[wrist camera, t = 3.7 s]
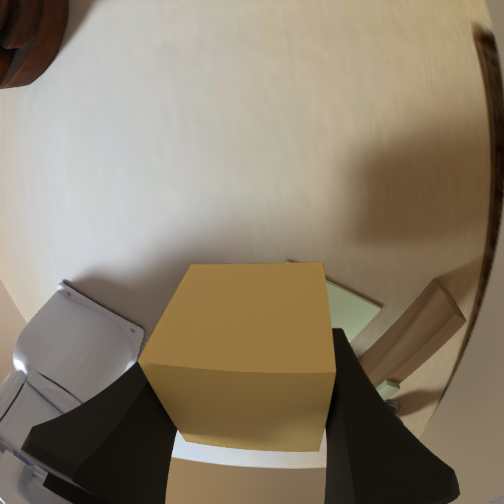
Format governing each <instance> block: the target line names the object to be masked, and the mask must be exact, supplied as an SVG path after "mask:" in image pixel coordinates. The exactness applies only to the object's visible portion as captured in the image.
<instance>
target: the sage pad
mask: <svg viewBox="0 0 504 504" xmlns="http://www.w3.org/2000/svg"><path fill="white" fill-rule="evenodd" d="M286 263H292V262H290V261H288V260H287V261H286ZM326 286H327V293H328V301H329V309H330V317H331V326H332V328H342V329H343V330H344V332H345V335H346V337H347V339H348V341H349V343H350V342H351V341H352V340H353V339H354V338H355V337H356V336H357V335H358V334H359V333H360V332H361V331H362V330H363V329H364V328H365V327H366V325H367V324H368V323H369V322H370V321H371V320H372V319H373V318H374V317H375V316H376V315H377V314H378V313H379V311H380V310H381V307H380V306H378V305H376V304H374V303H372V302H370V301H368V300H366V299H364V298H362V297H360V296H358V295H356V294H354V293H352V292H350V291H348V290H346V289H344V288H342V287H340V286H338V285H336V284H334V283H332V282H330V281H328V280H326Z"/></svg>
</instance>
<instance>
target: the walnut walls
mask: <svg viewBox="0 0 504 504" xmlns="http://www.w3.org/2000/svg"><path fill="white" fill-rule="evenodd" d="M465 322H466V319H465V317H464V316H463V314H462V312H461V311H460V309H459V307H458V306H457V304H456V302H455V301H454V299H453V297H452V296H451V294H450V293H449V291H448V289H447V288H446V286H444V285H443V284H441V283H440V282H438V281H437V280H435V279H434V280H433V281H432V282H431V283H430V284H429V286H428V287H427V288H426V289H425V290H424V292H423V293H422V294H421V295H420V296H419V297H418V298H417V300H416V301H415V302H414V303H413V304H412V305H411V306H410V307H409V309H408V310H407V311H406V312H405V313H404V314H403V315H402V316H401V317H400V318H399V319H398V320H397V321H396V323H395V324H394V325H393V326H392V327H391V328H390V329H389V330H388V331H387V332H386V333H385V334H384V335H383V336H382V337H381V338H380V339H379V340H378V341H377V342H376V343H375V344H374V345H373V346H372V347H371V348H370V349H369V350H367V351H366V352H365V353H364V354H363V355H362V356H361V357H360V358H359V359H358V361H359V363H360V364H361V366H362V368H363V369H364V371H365V373H366V374H367V376H368V378H369V379H370V381H371V382H372V384H373V385H374V387H375V388H376V390H377V391H378V393H379V394H380V396H381V397H382V399H383V400H384V401H385V400H386V399H388V398H389V397H391V396H392V395H393V394H394V393H396V392H397V391H398V390H400V386H399V384H400V383H401V382H402V381H403V380H404V379H406V378H407V377H408V376H409V375H410V374H412V373H413V372H414V371H415V370H416V369H418V368H419V367H420V366H421V365H422V364H423V363H424V362H425V361H427V360H428V359H429V358H430V357H431V356H432V355H433V354H434V353H435V352H436V351H437V350H439V349H440V348H441V347H442V346H443V345H444V344H445V343H446V342H447V341H448V340H449V339H450V338H451V337H452V336H453V335H454V334H455V333H456V332H457V331H458V330H459V329H460V328H461V327H462V326H463V324H464V323H465Z"/></svg>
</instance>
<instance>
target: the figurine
mask: <svg viewBox="0 0 504 504" xmlns="http://www.w3.org/2000/svg"><path fill="white" fill-rule="evenodd" d="M67 1H68V0H0V89H5V88H13V87H20V86H25V85H29V84H31V83H32V82H33V81H34V80H35V79H37V78H38V77H39V76H40V75H41V74H42V73H43V72H44V71H45V69H46V68H47V66H48V65H49V63H50V61H51V60H52V58H53V56H54V55H55V54H56V52H57V50H58V48H59V45H60V43H61V40H62V35H63V32H64V29H65V26H66V22H67V12H68V2H67Z"/></svg>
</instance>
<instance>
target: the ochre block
mask: <svg viewBox="0 0 504 504" xmlns="http://www.w3.org/2000/svg"><path fill="white" fill-rule="evenodd" d="M138 362H139V364H140V366H141V368H142V370H143V372H144V373H145V375H146V377H147V379H148V381H149V383H150V384H151V386H152V388H153V390H154V391H155V393H156V395H157V397H158V398H159V400H160V402H161V403H162V405H163V407H164V408H165V410H166V412H167V413H168V415H169V416H170V418H171V420H172V421H173V423H174V424H175V426H176V427H177V429H178V430H179V432H180V433H181V435H182V436H183V438H184V439H185V441H186V442H192V443H198V444H204V445H211V446H219V447H227V448H236V449H247V450H261V451H286V452H313V451H319V449H320V445H321V441H322V437H323V433H324V429H325V425H326V420H327V416H328V411H329V406H330V401H331V397H332V391H333V386H334V381H335V375H336V365H335V354H334V344H333V335H332V326H331V317H330V309H329V301H328V293H327V286H326V279H325V272H324V265H323V262H303V263H248V264H191V265H190V267H189V269H188V270H187V272H186V274H185V276H184V277H183V279H182V281H181V283H180V284H179V286H178V288H177V290H176V291H175V293H174V295H173V297H172V298H171V300H170V302H169V304H168V306H167V307H166V309H165V311H164V313H163V315H162V316H161V318H160V320H159V322H158V324H157V326H156V327H155V329H154V331H153V333H152V335H151V337H150V338H149V340H148V342H147V344H146V346H145V348H144V350H143V352H142V353H141V355H140V357H139V359H138Z"/></svg>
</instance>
